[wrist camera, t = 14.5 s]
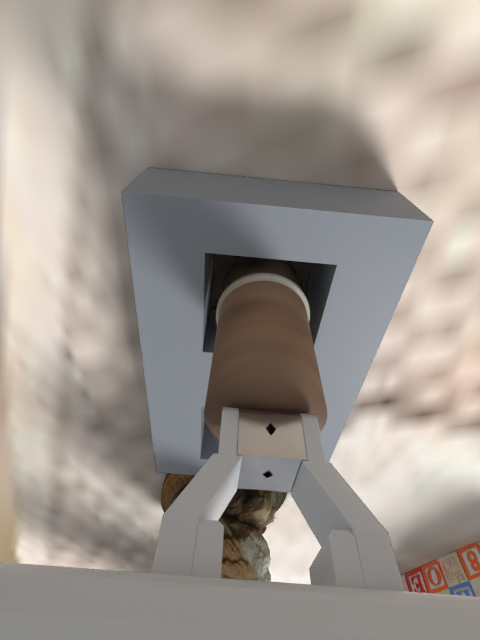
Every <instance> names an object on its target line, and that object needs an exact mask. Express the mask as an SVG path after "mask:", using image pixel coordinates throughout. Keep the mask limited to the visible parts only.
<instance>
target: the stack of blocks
mask: <svg viewBox="0 0 480 640" xmlns="http://www.w3.org/2000/svg"><path fill="white" fill-rule="evenodd" d="M401 579H402V582H403V585H404V589H405V592H418V593H432V594H446V595H460V596H473V597H480V541H479V542H476V543H473V544H471V545H469V546H466V547H464V548H462V549H459V550H457V551H455V552H452V553H450V554H447V555H445V556H443V557H440V558H438V559H437V560H434V561H433V562H431V563H428V564H426V565H424V566H422V567H419V568H417V569H415V570H412V571H410V572H408V573H406V574H403V575H401Z"/></svg>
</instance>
